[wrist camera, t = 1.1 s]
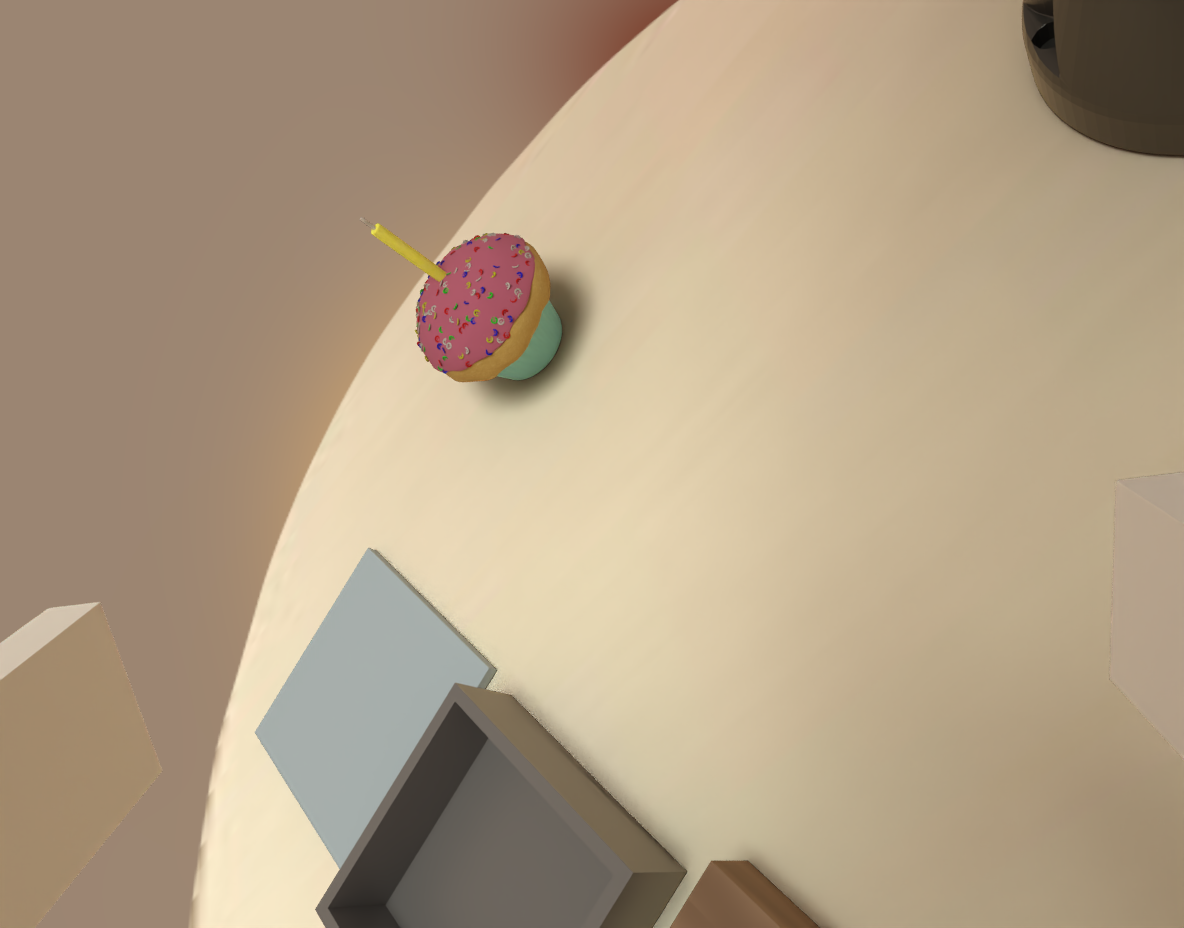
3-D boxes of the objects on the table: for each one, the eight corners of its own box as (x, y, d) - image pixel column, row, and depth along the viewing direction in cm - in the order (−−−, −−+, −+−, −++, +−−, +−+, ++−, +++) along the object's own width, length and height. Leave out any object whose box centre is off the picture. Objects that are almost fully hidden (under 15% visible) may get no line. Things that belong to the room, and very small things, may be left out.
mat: (375, 550, 52) (368, 547, 52) (496, 670, 43) (489, 667, 43) (263, 733, 52) (254, 732, 52) (361, 889, 43) (352, 889, 43)
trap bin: (511, 695, 42) (455, 682, 39) (687, 871, 34) (633, 872, 31) (380, 905, 42) (315, 909, 39) (525, 1131, 34) (456, 1157, 31)
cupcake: (455, 373, 54) (296, 275, 45) (533, 259, 53) (388, 137, 44) (531, 434, 48) (365, 336, 39) (619, 307, 47) (472, 178, 38)
